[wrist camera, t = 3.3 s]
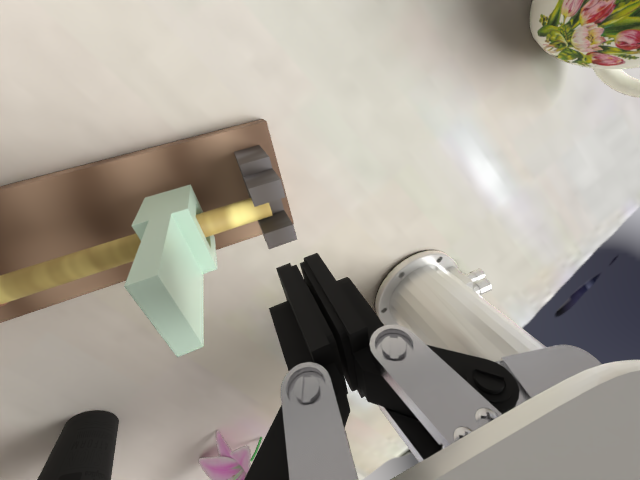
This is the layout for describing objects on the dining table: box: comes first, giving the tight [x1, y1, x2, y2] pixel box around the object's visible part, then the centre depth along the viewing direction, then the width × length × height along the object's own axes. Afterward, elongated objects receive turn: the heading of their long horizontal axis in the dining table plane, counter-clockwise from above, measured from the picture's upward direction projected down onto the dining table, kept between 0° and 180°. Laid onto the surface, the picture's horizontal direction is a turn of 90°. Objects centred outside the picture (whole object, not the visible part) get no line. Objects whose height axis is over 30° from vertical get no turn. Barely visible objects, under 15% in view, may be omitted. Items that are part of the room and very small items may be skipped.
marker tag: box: [124, 184, 217, 357], centre depth 16 cm, size 3×4×10 cm
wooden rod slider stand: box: [0, 119, 297, 323], centre depth 19 cm, size 26×9×8 cm, turn 101°
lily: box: [198, 430, 262, 480], centre depth 39 cm, size 12×12×10 cm
